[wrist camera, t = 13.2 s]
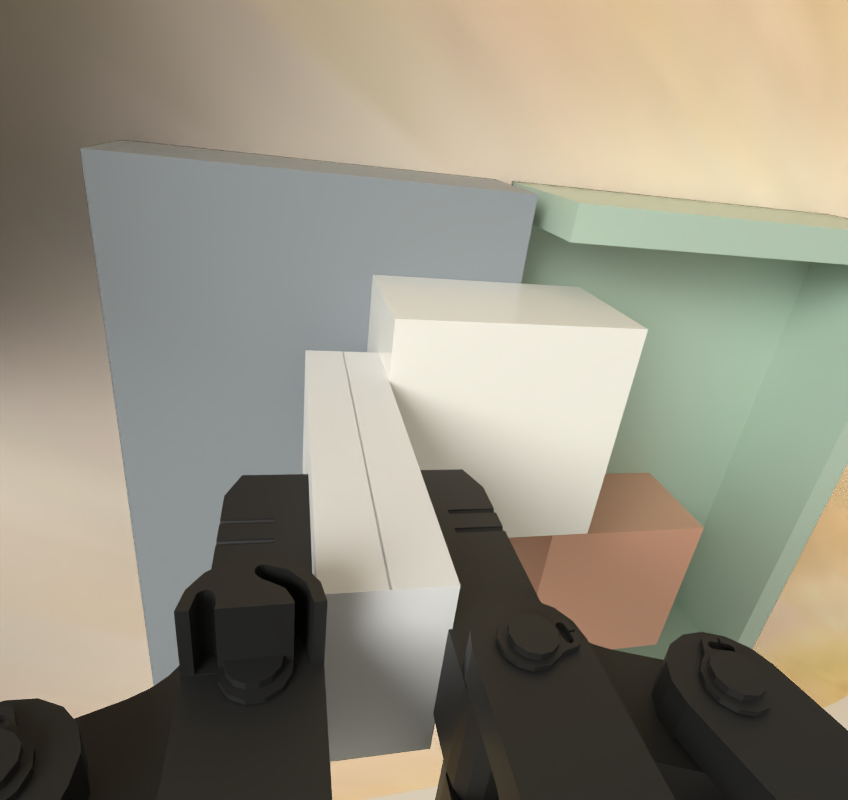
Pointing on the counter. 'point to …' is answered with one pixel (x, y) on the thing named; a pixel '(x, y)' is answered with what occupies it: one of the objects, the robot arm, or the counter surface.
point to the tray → (718, 376)
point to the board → (252, 315)
